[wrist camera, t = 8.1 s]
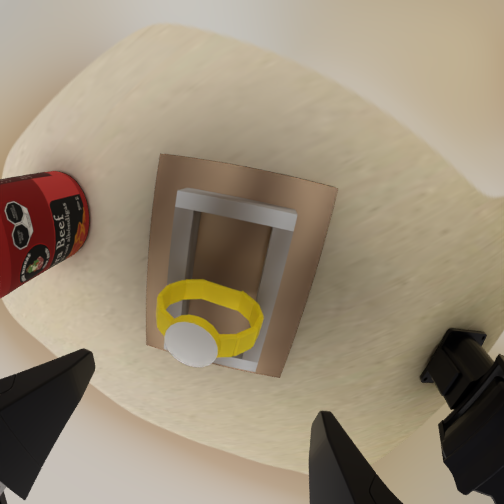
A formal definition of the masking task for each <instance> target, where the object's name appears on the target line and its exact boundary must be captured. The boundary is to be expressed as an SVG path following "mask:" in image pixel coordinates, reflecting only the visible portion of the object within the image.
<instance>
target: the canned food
mask: <svg viewBox="0 0 504 504" xmlns="http://www.w3.org/2000/svg"><path fill="white" fill-rule="evenodd" d="M88 229H89V211H88V206H87V201H86V199H85V196H84V193H83V191H82V190H81V188H80V186H79V185H78V183H77V182H76V181H75V180H74V179H73V178H72V177H71V176H69V175H67V174H64V173H61V172H57V171H51V172H43V173H36V174H29V175H23V176H17V177H11V178H5V179H0V298H2V297H4V296H5V295H7V294H9V293H10V292H12V291H13V290H15V289H16V288H18V287H20V286H21V285H23V284H24V283H26V282H28V281H29V280H31V279H33V278H34V277H36V276H38V275H39V274H41V273H43V272H44V271H46V270H48V269H49V268H51V267H53V266H55V265H56V264H58V263H60V262H62V261H63V260H65V259H67V258H69V257H71V256H72V255H74V254H75V253H76V252H77V251H78V250H79V249H80V248H81V246H82V245H83V243H84V242H85V240H86V237H87V234H88Z"/></svg>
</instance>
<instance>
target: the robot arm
mask: <svg viewBox="0 0 504 504" xmlns="http://www.w3.org/2000/svg"><path fill="white" fill-rule="evenodd" d="M486 336H487V335H486V334H485V333H484V332H478V331H469V330H461V329H453V328H452V329H449V330H448V331H447V333H446V335H445V336H444V338H443V340H442V342H441V344H440V346H439V347H438V349H437V351H436V353H435V354H434V356H433V358H432V359H431V361H430V363H429V364H428V366H427V368H426V369H425V371H424V372H423V374H422V375H421V377H420V380H421V382H422V383H435V385H436V386H437V388H438V390H439V392H440V394H441V395H442V396H444V398H445V400H446V402H447V404H448V406H449V407H450V409H451V410H452V409H454V410H453V411H452V412H451V413H450V414H449V415H448V416H447V417H446V418H445V419H444V420H442V421H441V422H440V423H439V424H438V426H439V433H440V440H441V448H442V456H443V462H444V463H445V465H446V466H447V467H448V468H449V470H450V471H451V473H452V475H453V477H454V480H455V483H456V486H457V489H458V491H459V492H461V493H462V494H464V495H468V494H469V493H470V492H472V491H476V492H479V493H481V494H485V495H487V496H490V497H491V498H492V499H493V501H494V503H495V504H504V356H503V355H501V354H499V355H498V356H497V358H496V360H495V362H494V361H493V360H492V359H491V358H490V356H489V355H488V354H487V353H486V351H485V350H484V349H483V348H482V347H481V346H482V344H483V342H484V340H485V339H486ZM94 371H95V362H94V357H93V353H92V352H91V351H89V350H87V349H80V350H77V351H75V352H72V353H70V354H67V355H65V356H62V357H59V358H57V359H54V360H52V361H49V362H46V363H44V364H41V365H39V366H36V367H33V368H30V369H28V370H25V371H22V372H20V373H17V374H14V375H11V376H8V377H5V378H3V379H0V504H7V501H6V498H5V494H4V489H5V488H6V487H8V488H9V489H10V490H12V491H13V492H14V493H15V494H17V495H18V496H19V497H21V498H22V499H23V500H25V499H26V498H27V496H28V494H29V492H30V490H31V487H32V486H33V484H34V482H35V480H36V478H37V476H38V474H39V472H40V470H41V467H42V466H43V464H44V462H45V460H46V458H47V457H48V455H49V453H50V451H51V449H52V447H53V446H54V444H55V442H56V440H57V439H58V437H59V435H60V433H61V432H62V430H63V428H64V427H65V425H66V423H67V421H68V420H69V418H70V416H71V415H72V413H73V411H74V410H75V408H76V407H77V405H78V403H79V402H80V400H81V398H82V396H83V394H84V392H85V390H86V388H87V386H88V384H89V381H90V379H91V377H92V375H93V373H94ZM309 489H310V504H403V503H402V502H401V501H400V500H399V499H398V498H397V497H396V496H395V495H394V494H393V493H392V492H391V491H390V490H389V489H388V488H387V486H386V485H385V484H384V483H383V482H382V480H381V479H380V478H379V476H378V475H377V474H376V472H375V471H374V470H373V468H372V467H371V466H370V464H369V463H368V462H367V460H366V459H365V458H364V456H363V455H362V454H361V452H360V451H359V450H358V448H357V447H356V445H355V444H354V443H353V441H352V440H351V439H350V437H349V436H348V435H347V433H346V432H345V430H344V429H343V428H342V426H341V425H340V423H339V422H338V421H337V419H336V418H335V417H334V415H333V414H332V413H331V412H330V411H320V412H319V413H318V415H317V416H316V418H315V420H314V421H313V423H312V427H311V439H310V451H309Z"/></svg>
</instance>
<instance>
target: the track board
mask: <svg viewBox="0 0 504 504" xmlns="http://www.w3.org/2000/svg"><path fill="white" fill-rule="evenodd" d="M337 191H338V188H335V187H331V186H328V185H324V184H320V183H316V182H312V181H308V180H304V179H300V178H296V177H291V176H287V175H282V174H278V173H273V172H269V171H264V170H259V169H254V168H249V167H244V166H239V165H233V164H228V163H222V162H216V161H210V160H204V159H197V158H190V157H183V156H176V155H168V154H160V158H159V165H158V171H157V178H156V185H155V192H154V200H153V209H152V218H151V228H150V240H149V253H148V270H147V297H146V345H149V346H152V347H155V348H158V349H161V350H164V351H168V349H167V347H166V344H165V339H164V336H163V334H162V333H161V332H160V331H159V330H158V328H157V321H156V306H157V297H158V294H159V293H160V292H161V291H162V290H163V289H164V288H165V287H166V286H167V285H169V284H171V283H175V282H178V281H181V280H186V279H204V280H207V281H210V282H213V283H216V284H219V285H222V286H225V287H228V288H231V289H235V290H238V291H241V292H242V291H244V292H245V293H247V294H248V295H249V296H250V297H251V298H253V299H254V300H255V301H256V302H257V303H258V304H259V306H260V308H261V311H262V313H263V316H264V317H263V318H264V320H263V323H262V326H261V329H260V332H259V335H258V337H257V339H256V342H255V344H254V346H253V347H252V348H251V349H249V350H247V351H245V352H243V353H241V354H239V355H237V356H232V357H218V358H216V360H215V361H214V362H213V363H211V364H215V365H219V366H223V367H228V368H232V369H237V370H241V371H246V372H251V373H256V374H261V375H267V376H272V377H278V378H280V376H281V373H282V370H283V368H284V365H285V362H286V360H287V357H288V354H289V351H290V349H291V346H292V343H293V340H294V337H295V334H296V332H297V329H298V326H299V323H300V320H301V317H302V314H303V311H304V308H305V305H306V302H307V298H308V295H309V292H310V289H311V286H312V283H313V279H314V276H315V273H316V269H317V266H318V263H319V259H320V256H321V252H322V249H323V245H324V241H325V238H326V234H327V231H328V227H329V223H330V219H331V215H332V211H333V208H334V204H335V200H336V195H337ZM166 311H167V312H168V313H169V314H170V315H171V316H172V317H173V318H174V319H175V318H177V317H179V316H181V315H194V316H198V317H201V318H203V319H205V320H207V321H208V322H209V323H210V324H212V325H213V326H214V327H215V329H216V330H217V332H218V333H219V334H237V333H239V332H241V331H244V330H246V329H248V328H251V326H250V323H249V321H248V320H247V319H246V318H245V317H244V316H243V315H242V314H241V313H240V312H239V311H237V310H233V309H230V308H227V307H224V306H221V305H218V304H215V303H212V302H209V301H206V300H203V299H187V300H181V301H178V302H176V303H173V304H171V305H169V306H168V308H167V309H166ZM168 352H169V351H168Z"/></svg>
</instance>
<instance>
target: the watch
mask: <svg viewBox="0 0 504 504" xmlns="http://www.w3.org/2000/svg"><path fill="white" fill-rule="evenodd" d="M187 299H203V300H206V301H209V302H212V303H215V304H218V305H221V306H224V307H227V308H230V309H233V310H237V311H239V312H240V313H241V314H242V315H243V316H244V317H245V318H246V319H247V320H248V321H249V323H250V326H251V328H248V329H246V330H244V331H241V332H239V333H237V334H219V333H218V332H217V330H216V329H215V327H214V326H213V325H212V324H210V323H209V322H208V321H207V320H205V319H203V318H201V317H198V316H194V315H181V316H179V317H177V318H175V319H174V318H173V317H172V316H171V315H170V314H169V313H168V312H167V311H166V309H167V308H168V306H169V305H171V304H173V303H176V302H178V301H181V300H187ZM263 317H264V316H263V313H262V311H261V308H260V306H259V304H258V303H257V302H256V301H255V300H254V299H253V298H251V297H250V296H249V295H248V294H247V293H245V292H244V291H242V292H241V291H238V290H235V289H231V288H228V287H225V286H222V285H219V284H216V283H213V282H210V281H207V280H204V279H186V280H181V281H178V282H175V283H171V284H169V285H167V286H166V287H165V288H164V289H163V290H162V291H161V292H160V293H159V294H158V297H157V306H156V321H157V328H158V330H159V331H160V332H161V333H162V334H163V336H164V339H165V344H166V347H167V349H168V351H169V352H170V353H171V354H172V356H173V357H174V358H176V359H177V360H178V361H179V362H181V363H183V364H185V365H188V366H192V367H205V366H208V365H210V364H211V363H213V362H214V361H215V360H216V358H218V357H232V356H237V355H239V354H241V353H243V352H245V351H247V350H249V349H251V348H252V347H253V346H254V344H255V342H256V339H257V337H258V335H259V332H260V329H261V326H262V323H263V320H264V318H263Z"/></svg>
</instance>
